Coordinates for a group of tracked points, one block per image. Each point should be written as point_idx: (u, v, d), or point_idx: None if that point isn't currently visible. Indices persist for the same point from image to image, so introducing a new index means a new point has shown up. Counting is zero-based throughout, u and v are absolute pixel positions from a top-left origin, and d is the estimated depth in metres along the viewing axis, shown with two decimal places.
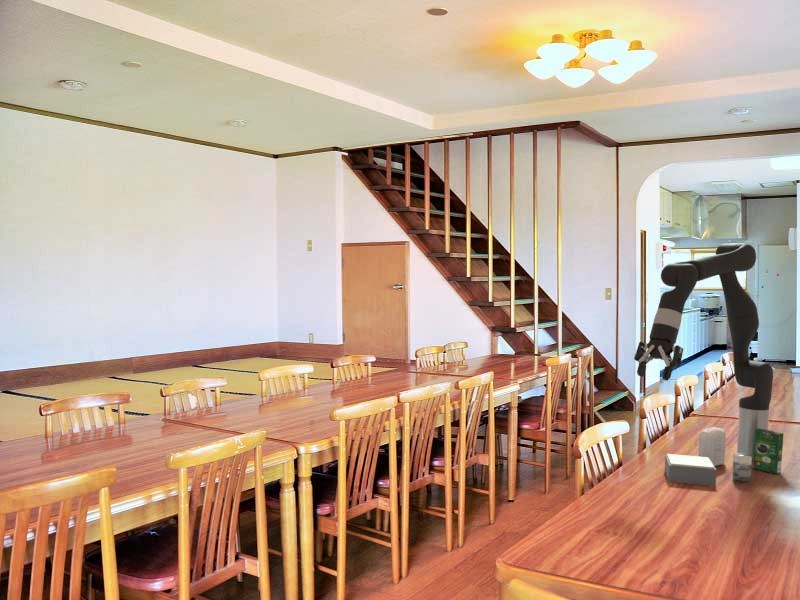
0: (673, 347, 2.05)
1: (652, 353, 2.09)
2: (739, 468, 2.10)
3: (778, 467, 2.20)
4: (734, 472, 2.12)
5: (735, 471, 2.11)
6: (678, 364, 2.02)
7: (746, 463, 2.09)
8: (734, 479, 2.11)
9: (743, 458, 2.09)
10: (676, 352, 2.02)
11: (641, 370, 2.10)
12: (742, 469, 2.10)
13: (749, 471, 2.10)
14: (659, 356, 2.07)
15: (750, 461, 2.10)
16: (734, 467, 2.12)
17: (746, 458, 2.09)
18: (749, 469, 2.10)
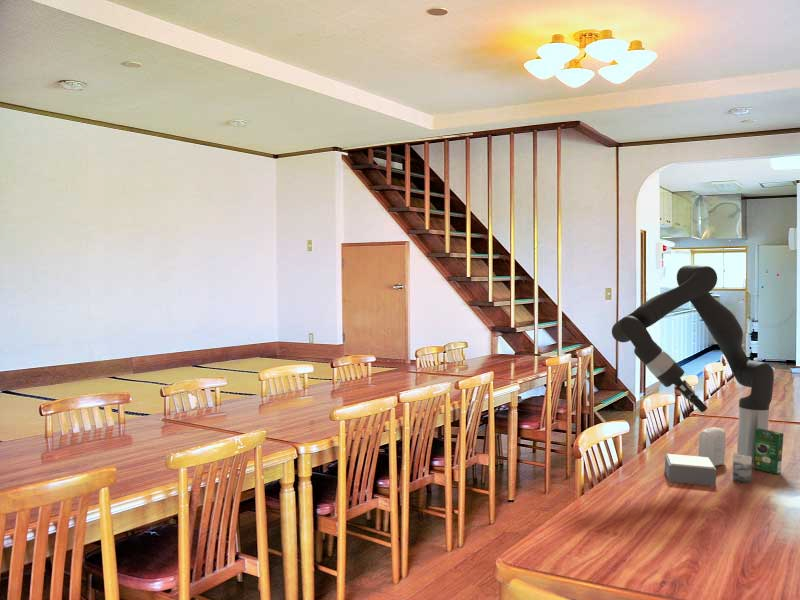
0: None
1: None
2: (739, 468, 2.10)
3: (778, 467, 2.20)
4: (734, 472, 2.12)
5: (735, 471, 2.11)
6: (694, 398, 2.08)
7: (746, 463, 2.09)
8: (734, 479, 2.11)
9: (743, 458, 2.09)
10: (682, 393, 2.10)
11: None
12: (742, 469, 2.10)
13: (749, 471, 2.10)
14: None
15: (750, 461, 2.10)
16: (734, 467, 2.12)
17: (746, 458, 2.09)
18: (749, 469, 2.10)
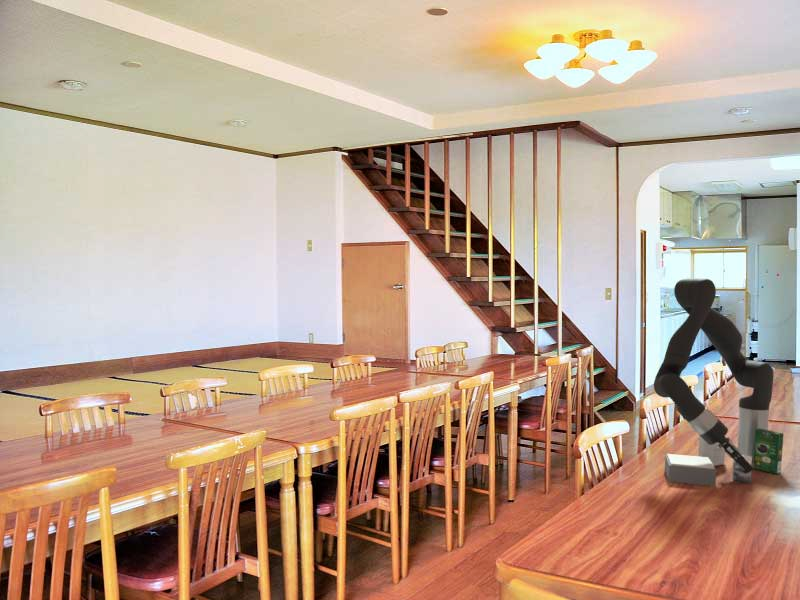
0: (725, 447, 2.09)
1: None
2: (739, 468, 2.10)
3: (778, 467, 2.20)
4: (734, 472, 2.12)
5: (735, 471, 2.11)
6: (740, 459, 2.07)
7: None
8: (734, 479, 2.11)
9: None
10: (729, 455, 2.07)
11: None
12: (742, 469, 2.10)
13: None
14: None
15: (750, 461, 2.10)
16: (734, 467, 2.12)
17: (746, 458, 2.09)
18: None
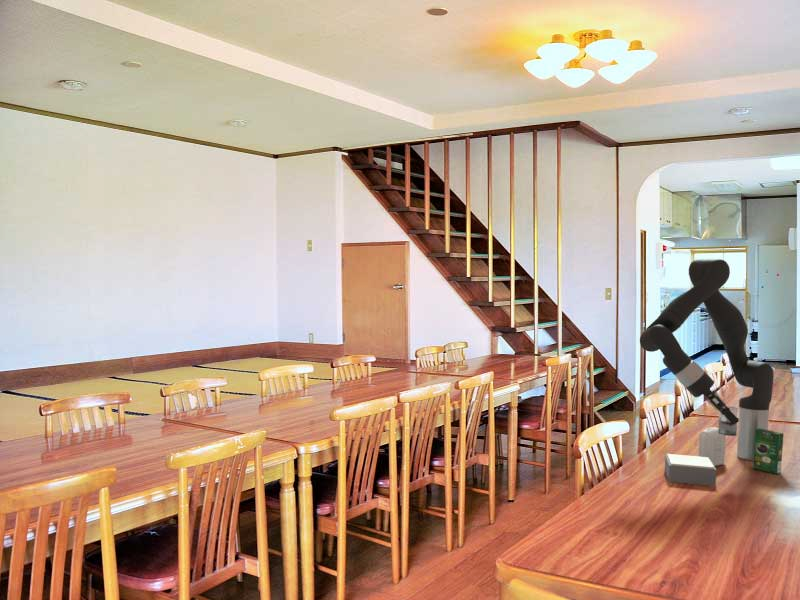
0: (711, 398, 2.08)
1: None
2: (725, 420, 2.10)
3: (778, 467, 2.20)
4: (719, 424, 2.11)
5: (721, 424, 2.11)
6: (726, 410, 2.07)
7: None
8: (720, 431, 2.11)
9: None
10: (715, 406, 2.07)
11: None
12: (728, 421, 2.09)
13: None
14: None
15: (736, 413, 2.10)
16: (720, 419, 2.11)
17: (732, 410, 2.09)
18: None
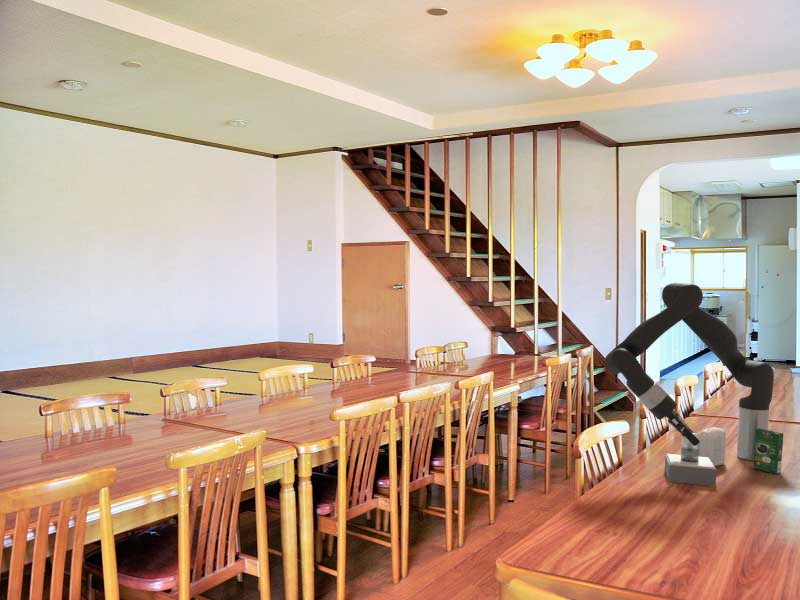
0: (672, 420, 2.11)
1: None
2: (686, 447, 2.12)
3: (778, 467, 2.20)
4: (682, 451, 2.14)
5: (683, 450, 2.13)
6: (686, 432, 2.07)
7: None
8: (682, 458, 2.13)
9: None
10: (674, 427, 2.09)
11: None
12: (689, 448, 2.12)
13: (696, 450, 2.12)
14: None
15: None
16: (682, 446, 2.14)
17: None
18: (696, 448, 2.12)
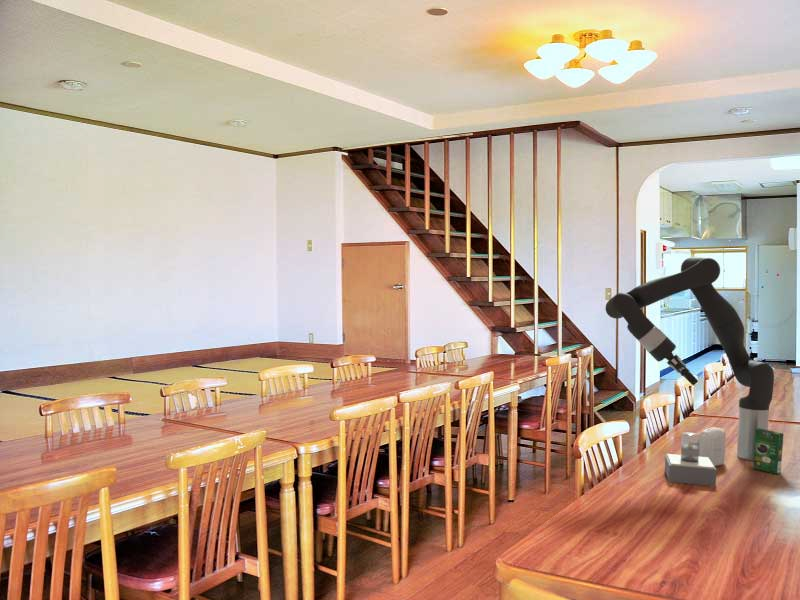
0: None
1: None
2: (686, 447, 2.12)
3: (778, 467, 2.20)
4: (682, 451, 2.14)
5: (683, 450, 2.13)
6: (685, 371, 2.14)
7: (693, 441, 2.11)
8: (682, 458, 2.13)
9: (690, 437, 2.11)
10: (674, 367, 2.16)
11: None
12: (689, 448, 2.12)
13: (696, 450, 2.12)
14: None
15: (697, 440, 2.12)
16: (682, 446, 2.14)
17: (693, 437, 2.11)
18: (696, 448, 2.12)
